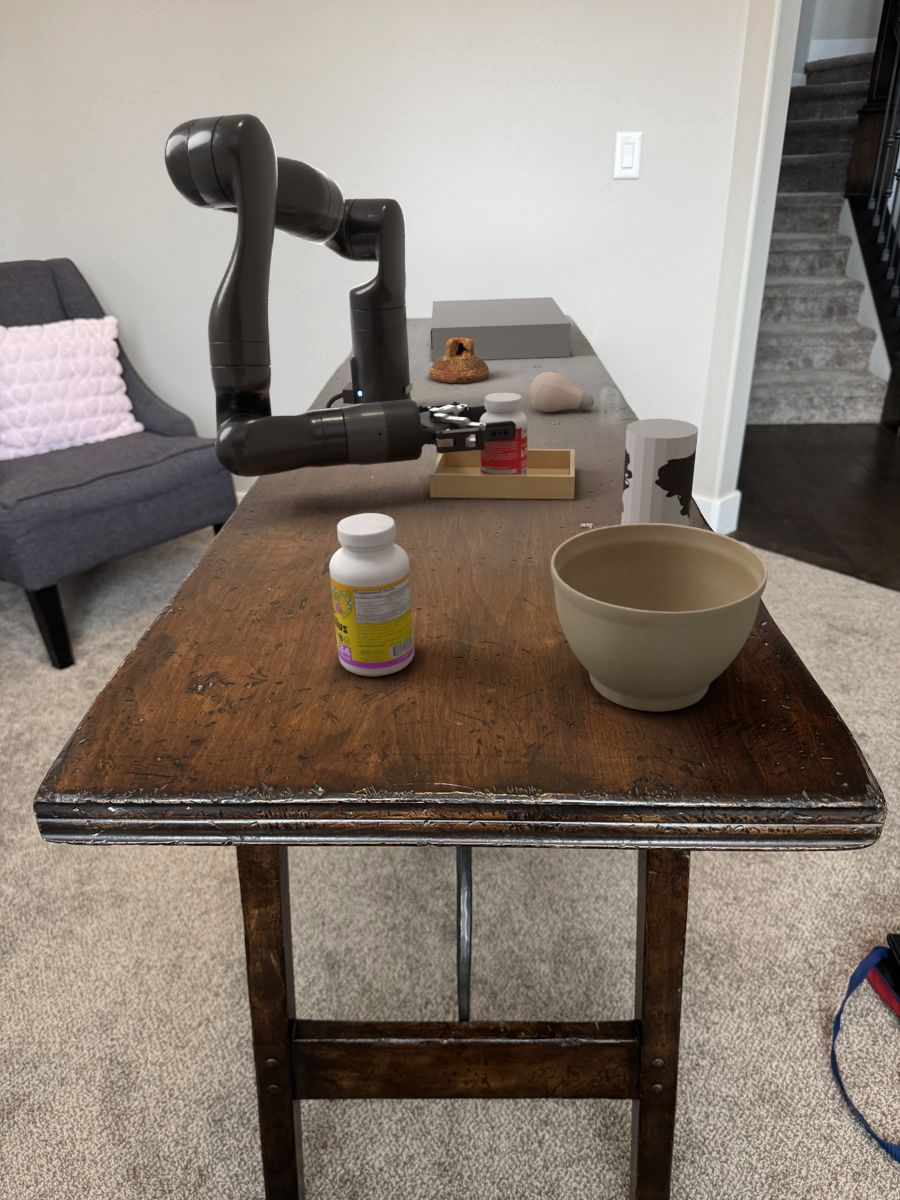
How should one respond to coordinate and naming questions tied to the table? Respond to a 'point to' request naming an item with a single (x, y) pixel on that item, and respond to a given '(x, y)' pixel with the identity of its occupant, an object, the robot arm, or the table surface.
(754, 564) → the planter bowl
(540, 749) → the table surface
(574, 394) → the light bulb
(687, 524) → the grey patterned cylinder
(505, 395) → the pill bottle
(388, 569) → the supplement bottle
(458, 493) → the tray
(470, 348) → the brown domed piece
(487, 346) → the box
